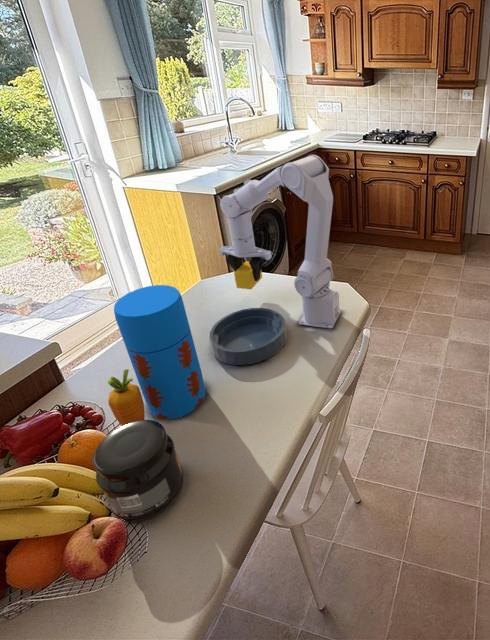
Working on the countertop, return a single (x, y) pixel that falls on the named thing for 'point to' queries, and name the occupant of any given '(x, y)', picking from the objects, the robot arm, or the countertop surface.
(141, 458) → the supplement container
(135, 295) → the thermos
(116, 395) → the carrot
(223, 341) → the bowl
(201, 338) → the countertop surface
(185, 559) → the countertop surface
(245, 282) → the sponge
